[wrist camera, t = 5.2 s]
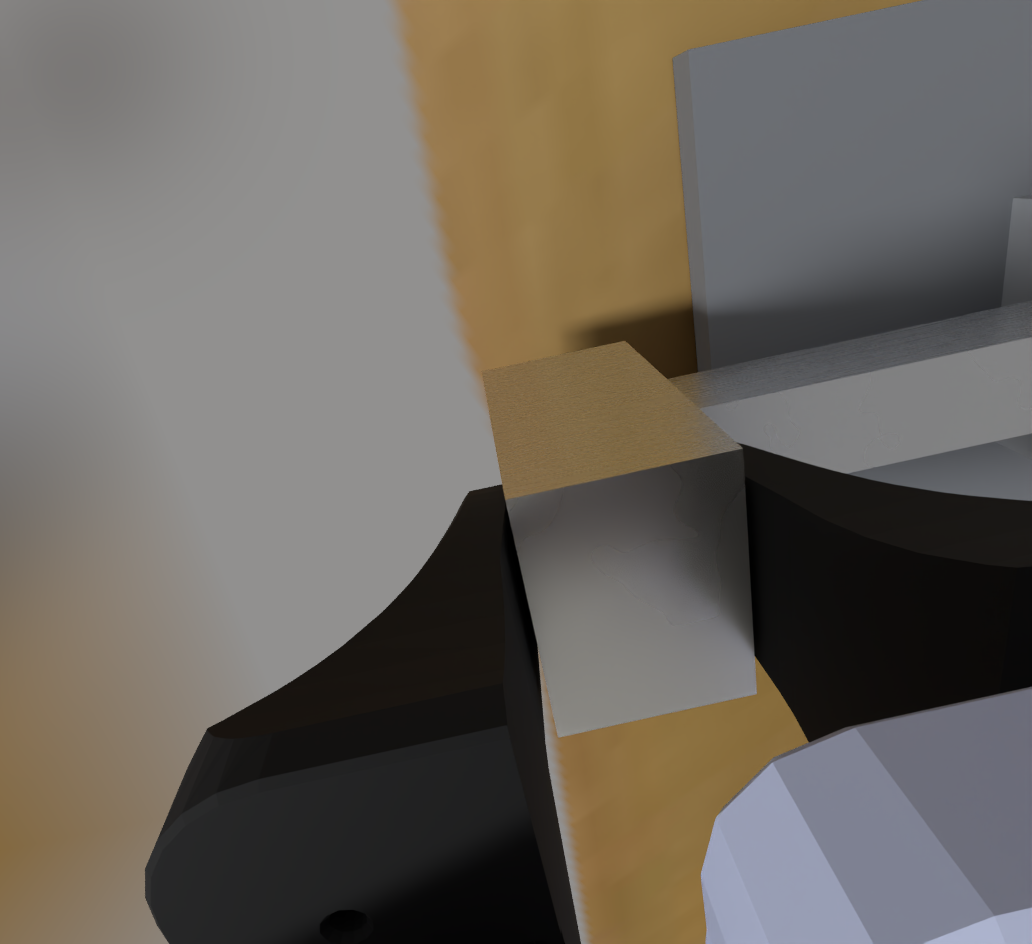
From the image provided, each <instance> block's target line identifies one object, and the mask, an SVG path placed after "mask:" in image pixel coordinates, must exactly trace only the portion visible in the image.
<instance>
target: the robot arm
mask: <svg viewBox="0 0 1032 944" xmlns="http://www.w3.org/2000/svg"><path fill="white" fill-rule="evenodd" d="M738 444H739V445H740V446H741V447H742V448H743V456H744V474H745V492H746V510H747V528H748V546H749V564H750V583H751V601H752V619H753V637H754V655H755V657H756V658H757V659H758V661H759V662H760V664H761V665H762V667H763V668H764V670H765V671H766V673H767V674H768V675H769V677H770V678H771V680H772V681H773V683H774V684H775V686H776V687H777V688H778V690H779V691H780V693H781V695H782V696H783V698H784V699H785V701H786V703H787V704H788V706H789V707H790V709H791V711H792V712H793V714H794V716H795V717H796V719H797V721H798V723H799V725H800V727H801V728H802V730H803V732H804V734H805V736H806V738H807V740H808V741H809V743H807V744H805V745H802V746H800V747H798V748H795V749H793V750H791V751H788V752H786V753H783V754H781V755H779V756H776V757H774V758H773V759H772V760H771V761H770V762H769V763H768V764H767V765H765V766H764V767H763V768H762V769H761V770H760V771H759V772H758V773H757V774H756V775H755V776H754V777H753V778H752V779H751V780H750V781H749V782H748V783H747V784H746V785H745V786H744V787H743V788H742V789H741V790H740V791H739V792H738V793H737V794H736V795H735V796H734V797H733V798H732V799H731V800H730V801H729V802H728V803H727V804H726V805H725V806H724V807H723V809H722V810H721V811H720V813H719V814H718V816H717V817H716V820H715V823H714V827H713V831H712V835H711V838H710V842H709V846H708V850H707V853H706V857H705V861H704V865H703V868H702V872H701V881H702V890H703V899H704V907H705V916H706V925H707V934H706V944H1032V501H1027V500H1014V499H1003V498H992V497H980V496H969V495H961V494H953V493H945V492H938V491H931V490H925V489H919V488H913V487H907V486H901V485H895V484H890V483H885V482H880V481H875V480H870V479H866V478H862V477H858V476H854V475H850V474H845V473H841V472H837V471H833V470H829V469H826V468H822V467H818V466H815V465H811V464H808V463H804V462H801V461H798V460H794V459H791V458H788V457H784V456H781V455H778V454H774V453H771V452H768V451H765V450H761V449H758V448H755V447H751V446H748V445H745V444H741V443H738ZM145 898H146V901H147V903H148V905H149V907H150V910H151V912H152V915H153V917H154V919H155V921H156V924H157V926H158V927H159V929H160V930H161V932H162V933H163V935H164V936H165V938H166V939H167V941H168V942H169V944H581V941H580V936H579V930H578V925H577V920H576V914H575V909H574V904H573V899H572V894H571V888H570V882H569V877H568V872H567V866H566V861H565V855H564V850H563V845H562V839H561V834H560V828H559V823H558V817H557V812H556V807H555V802H554V796H553V790H552V785H551V779H550V774H549V768H548V760H547V752H546V744H545V733H544V720H543V708H542V696H541V683H540V671H539V659H538V647H537V640H536V636H535V631H534V627H533V622H532V618H531V613H530V609H529V604H528V600H527V595H526V591H525V586H524V582H523V577H522V573H521V568H520V564H519V559H518V555H517V550H516V546H515V542H514V537H513V533H512V528H511V524H510V519H509V515H508V510H507V506H506V501H505V496H504V491H503V485H497V486H493V487H488V488H483V489H479V490H474V491H470V492H469V493H468V494H467V496H466V497H465V499H464V501H463V502H462V504H461V506H460V508H459V510H458V512H457V514H456V516H455V517H454V519H453V521H452V523H451V525H450V526H449V528H448V530H447V531H446V533H445V535H444V536H443V538H442V540H441V541H440V543H439V544H438V546H437V548H436V549H435V550H434V552H433V553H432V555H431V556H430V558H429V559H428V561H427V562H426V563H425V565H424V566H423V567H422V569H421V570H420V571H419V573H418V574H417V575H416V576H415V578H414V579H413V580H412V581H411V582H410V584H409V585H408V586H407V587H406V588H405V589H404V590H403V591H402V592H401V594H399V595H398V597H397V598H396V599H395V600H394V601H393V602H392V603H391V604H390V605H389V606H388V607H387V608H386V609H385V610H384V611H383V612H382V613H381V614H380V615H379V616H377V617H376V618H375V619H374V620H372V621H371V622H370V623H369V624H368V625H367V626H366V627H364V628H363V629H362V630H361V631H360V632H358V633H357V634H356V635H355V636H354V637H353V638H351V639H350V640H349V641H348V642H347V643H346V644H344V645H343V646H342V647H340V648H339V649H338V650H336V651H335V652H334V653H332V654H331V655H330V656H328V657H327V658H325V659H324V660H323V661H321V662H320V663H319V664H317V665H316V666H314V667H313V668H311V669H310V670H308V671H307V672H305V673H304V674H302V675H300V676H299V677H298V678H296V679H295V680H293V681H291V682H290V683H288V684H287V685H285V686H283V687H282V688H280V689H278V690H277V691H275V692H273V693H272V694H270V695H268V696H266V697H264V698H263V699H261V700H259V701H257V702H256V703H254V704H252V705H250V706H248V707H246V708H245V709H243V710H241V711H239V712H237V713H236V714H234V715H232V716H230V717H228V718H227V719H225V720H223V721H221V722H219V723H217V724H215V725H213V726H211V727H209V728H208V729H207V730H206V732H205V734H204V736H203V738H202V740H201V742H200V744H199V746H198V748H197V750H196V752H195V754H194V756H193V758H192V760H191V762H190V764H189V766H188V769H187V770H186V773H185V775H184V778H183V780H182V782H181V785H180V787H179V789H178V792H177V794H176V797H175V799H174V801H173V804H172V806H171V809H170V811H169V813H168V816H167V818H166V821H165V823H164V825H163V828H162V830H161V832H160V835H159V837H158V840H157V842H156V845H155V847H154V849H153V851H152V854H151V856H150V859H149V861H148V863H147V866H146V868H145Z"/></svg>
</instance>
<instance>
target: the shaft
mask: <svg viewBox="0 0 1032 944" xmlns="http://www.w3.org/2000/svg"><path fill="white" fill-rule="evenodd" d="M482 376H483V381H484V387H485V392H486V398H487V403H488V409H489V414H490V420H491V425H492V431H493V436H494V441H495V447H496V452H497V458H498V463H499V468H500V474H501V480H502V485H503V491H504V496H505V501H506V506H507V510H508V515H509V519H510V524H511V528H512V533H513V537H514V542H515V546H516V550H517V555H518V559H519V564H520V568H521V573H522V577H523V582H524V586H525V591H526V595H527V600H528V604H529V609H530V613H531V618H532V622H533V627H534V631H535V636H536V640H537V645H538V649H539V653H540V658H541V662H542V667H543V671H544V676H545V680H546V685H547V689H548V694H549V698H550V703H551V707H552V712H553V716H554V721H555V725H556V730H557V734H558V737H563V736H567V735H572V734H576V733H581V732H586V731H590V730H595V729H599V728H604V727H608V726H613V725H617V724H622V723H627V722H631V721H636V720H640V719H645V718H649V717H654V716H658V715H663V714H668V713H672V712H677V711H681V710H686V709H690V708H695V707H699V706H704V705H708V704H713V703H718V702H722V701H727V700H731V699H736V698H740V697H745V696H749V695H754V694H757V691H756V673H755V655H754V637H753V619H752V601H751V583H750V564H749V546H748V528H747V510H746V492H745V474H744V456H743V448H742V447H741V446H740V445H739V444H738V443H741V444H745V445H748V446H751V447H755V448H758V449H761V450H765V451H768V452H771V453H774V454H778V455H781V456H784V457H788V458H791V459H794V460H798V461H801V462H804V463H808V464H811V465H815V466H818V467H822V468H826V469H829V470H833V471H837V472H841V473H845V474H847V473H852V472H856V471H861V470H865V469H870V468H875V467H879V466H884V465H888V464H893V463H898V462H902V461H907V460H911V459H916V458H921V457H925V456H930V455H935V454H939V453H944V452H948V451H953V450H958V449H962V448H967V447H971V446H976V445H981V444H985V443H990V442H994V441H999V440H1004V439H1008V438H1013V437H1018V436H1022V435H1027V434H1031V433H1032V301H1028V302H1023V303H1018V304H1014V305H1009V306H1004V307H1000V308H995V309H990V310H986V311H981V312H976V313H972V314H967V315H962V316H958V317H953V318H948V319H944V320H939V321H935V322H930V323H925V324H921V325H916V326H911V327H907V328H902V329H897V330H893V331H888V332H883V333H879V334H874V335H869V336H865V337H860V338H855V339H851V340H846V341H842V342H837V343H832V344H828V345H823V346H818V347H814V348H809V349H804V350H800V351H795V352H790V353H786V354H781V355H776V356H772V357H767V358H762V359H758V360H753V361H749V362H744V363H739V364H735V365H730V366H725V367H721V368H716V369H711V370H707V371H702V372H697V373H693V374H688V375H683V376H679V377H674V378H670V379H666V378H665V377H664V376H663V375H662V374H661V373H660V372H659V371H658V370H657V369H655V368H654V367H653V366H652V365H651V364H650V363H649V362H648V361H647V360H646V359H644V358H643V357H642V356H641V355H640V354H639V353H638V352H637V351H636V350H635V349H634V348H632V347H631V346H630V345H629V344H628V343H627V342H626V341H621V342H617V343H612V344H607V345H603V346H598V347H593V348H589V349H584V350H579V351H575V352H570V353H565V354H561V355H556V356H551V357H547V358H542V359H537V360H533V361H528V362H523V363H519V364H514V365H509V366H505V367H500V368H495V369H491V370H486V371H482Z"/></svg>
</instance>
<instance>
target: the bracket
mask: <svg viewBox="0 0 1032 944" xmlns="http://www.w3.org/2000/svg"><path fill="white" fill-rule="evenodd" d="M673 70H674V82H675V94H676V107H677V119H678V131H679V144H680V156H681V168H682V180H683V193H684V205H685V217H686V230H687V242H688V254H689V266H690V279H691V291H692V303H693V316H694V328H695V340H696V353H697V365H698V372H702V371H707V370H711V369H716V368H721V367H725V366H730V365H735V364H739V363H744V362H749V361H753V360H758V359H762V358H767V357H772V356H776V355H781V354H786V353H790V352H795V351H800V350H804V349H809V348H814V347H818V346H823V345H828V344H832V343H837V342H842V341H846V340H851V339H855V338H860V337H865V336H869V335H874V334H879V333H883V332H888V331H893V330H897V329H902V328H907V327H911V326H916V325H921V324H925V323H930V322H935V321H939V320H944V319H948V318H953V317H958V316H962V315H967V314H972V313H976V312H981V311H986V310H990V309H995V308H1000V307H1004V306H1009V305H1014V304H1018V303H1023V302H1028V301H1032V0H922V1H918V2H913V3H908V4H903V5H899V6H894V7H889V8H884V9H880V10H875V11H870V12H865V13H861V14H856V15H851V16H846V17H842V18H837V19H832V20H827V21H823V22H818V23H813V24H808V25H804V26H799V27H794V28H789V29H785V30H780V31H775V32H770V33H766V34H761V35H756V36H751V37H747V38H742V39H737V40H732V41H728V42H723V43H718V44H713V45H709V46H704V47H699V48H694V49H690V50H687V51H685V52H683V53H681V54H679V55H678V56H676V57H674V58H673ZM847 474H850V475H854V476H858V477H862V478H866V479H870V480H875V481H880V482H885V483H890V484H895V485H901V486H907V487H913V488H919V489H925V490H931V491H938V492H945V493H953V494H961V495H969V496H980V497H992V498H1003V499H1014V500H1027V501H1032V433H1031V434H1027V435H1022V436H1018V437H1013V438H1008V439H1004V440H999V441H994V442H990V443H985V444H981V445H976V446H971V447H967V448H962V449H958V450H953V451H948V452H944V453H939V454H935V455H930V456H925V457H921V458H916V459H911V460H907V461H902V462H898V463H893V464H888V465H884V466H879V467H875V468H870V469H865V470H861V471H856V472H852V473H847Z"/></svg>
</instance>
